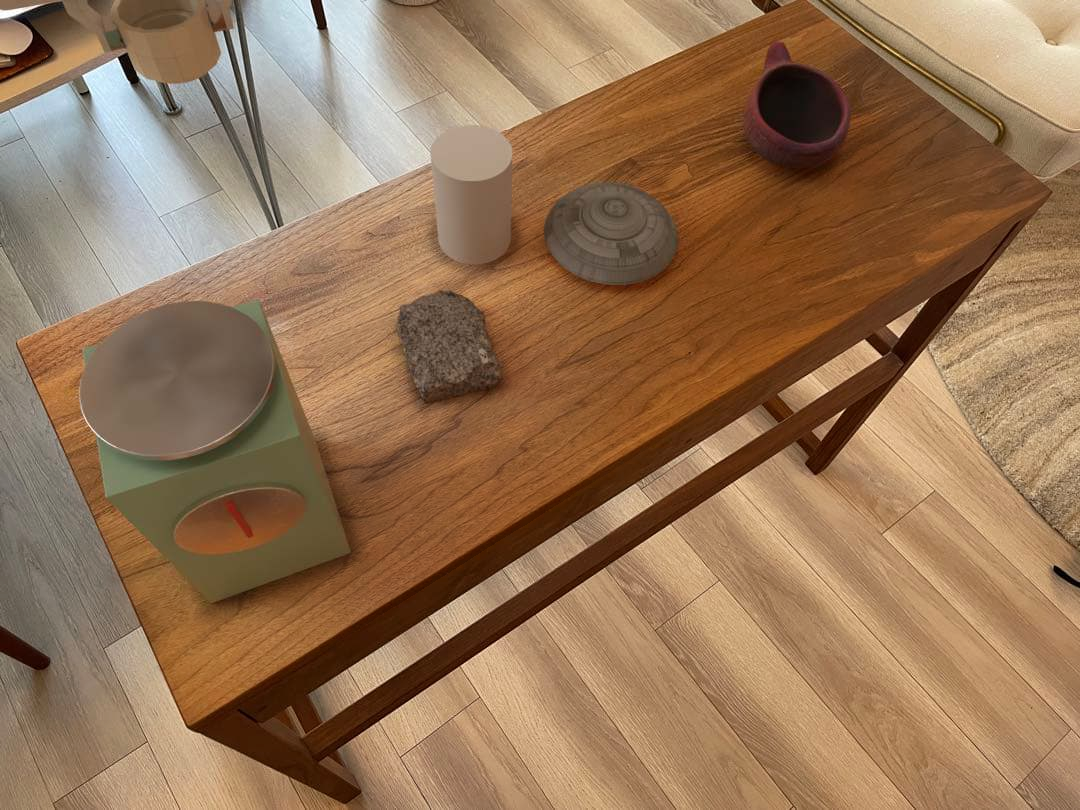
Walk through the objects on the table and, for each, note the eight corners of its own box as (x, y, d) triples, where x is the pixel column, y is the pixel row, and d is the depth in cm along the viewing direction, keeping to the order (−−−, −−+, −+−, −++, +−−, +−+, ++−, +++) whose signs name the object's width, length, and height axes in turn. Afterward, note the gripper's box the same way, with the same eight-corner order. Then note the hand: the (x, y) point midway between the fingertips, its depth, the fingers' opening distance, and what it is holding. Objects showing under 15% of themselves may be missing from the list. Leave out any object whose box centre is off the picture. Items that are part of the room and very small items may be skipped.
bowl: (857, 157, 99) (884, 103, 92) (787, 200, 95) (809, 146, 88) (764, 89, 105) (783, 33, 99) (694, 125, 101) (708, 69, 94)
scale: (212, 612, 66) (92, 494, 47) (184, 483, 72) (68, 330, 52) (353, 560, 69) (296, 429, 49) (315, 440, 75) (251, 281, 55)
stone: (503, 389, 79) (503, 368, 76) (415, 409, 78) (411, 389, 74) (474, 298, 84) (473, 275, 81) (392, 315, 83) (388, 293, 80)
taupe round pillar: (522, 225, 91) (526, 140, 80) (490, 274, 87) (489, 191, 76) (459, 201, 92) (454, 115, 82) (424, 248, 88) (415, 164, 78)
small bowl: (142, 96, 58) (118, 41, 54) (129, 45, 61) (105, -11, 57) (230, 79, 60) (212, 23, 56) (213, 29, 63) (195, -27, 59)
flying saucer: (673, 301, 86) (683, 267, 81) (535, 284, 86) (537, 249, 81) (677, 202, 94) (687, 166, 89) (551, 187, 94) (554, 150, 89)
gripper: (-108, -128, 43) (21, 92, 55) (272, -177, 48) (316, 34, 60) (-109, -181, 46) (14, 39, 58) (249, -222, 51) (295, -12, 63)
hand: (170, 36), depth 59 cm, fingers closed on small bowl, 6 cm apart
